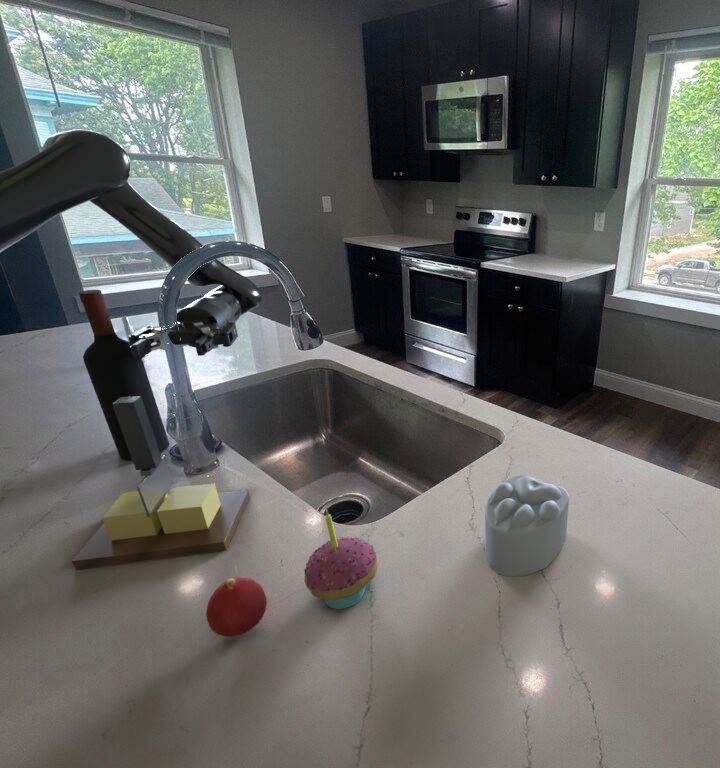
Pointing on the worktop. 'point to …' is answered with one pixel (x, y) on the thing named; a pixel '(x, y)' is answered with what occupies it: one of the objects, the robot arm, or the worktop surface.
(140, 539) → the butter board
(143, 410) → the knife
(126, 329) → the screw
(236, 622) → the onion
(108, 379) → the wine bottle
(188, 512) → the butter
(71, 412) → the worktop surface
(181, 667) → the worktop surface
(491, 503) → the lumpy-topped squat cylinder
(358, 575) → the cupcake
